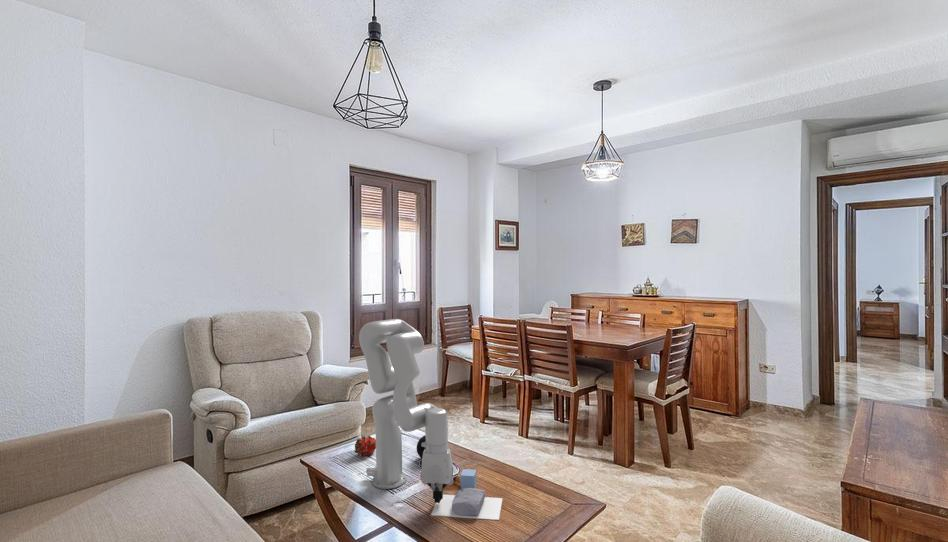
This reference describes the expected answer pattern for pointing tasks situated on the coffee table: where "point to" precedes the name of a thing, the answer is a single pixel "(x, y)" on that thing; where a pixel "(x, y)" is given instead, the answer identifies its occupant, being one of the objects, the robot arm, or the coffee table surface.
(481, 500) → the stone block
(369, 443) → the dragon fruit
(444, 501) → the letter sheet
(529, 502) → the coffee table surface
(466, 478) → the blue cube
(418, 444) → the decorative ball
